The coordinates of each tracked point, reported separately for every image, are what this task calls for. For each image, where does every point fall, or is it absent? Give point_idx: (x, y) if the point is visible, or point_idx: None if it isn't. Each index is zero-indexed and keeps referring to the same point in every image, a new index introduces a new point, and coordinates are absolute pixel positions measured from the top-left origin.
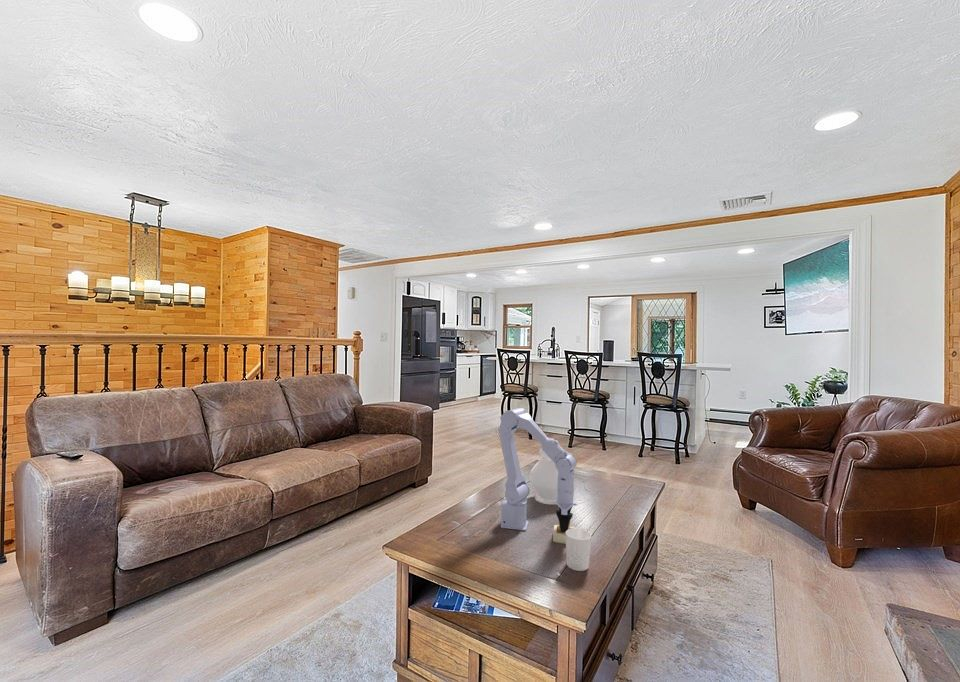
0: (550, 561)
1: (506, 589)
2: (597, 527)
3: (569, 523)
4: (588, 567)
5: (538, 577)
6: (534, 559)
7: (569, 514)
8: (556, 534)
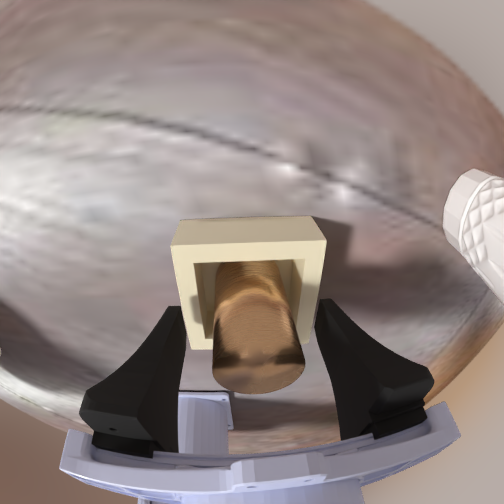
0: (438, 294)
1: (490, 336)
2: (32, 111)
3: (277, 319)
4: (483, 170)
5: (485, 302)
6: (420, 333)
7: (412, 396)
8: (309, 329)
